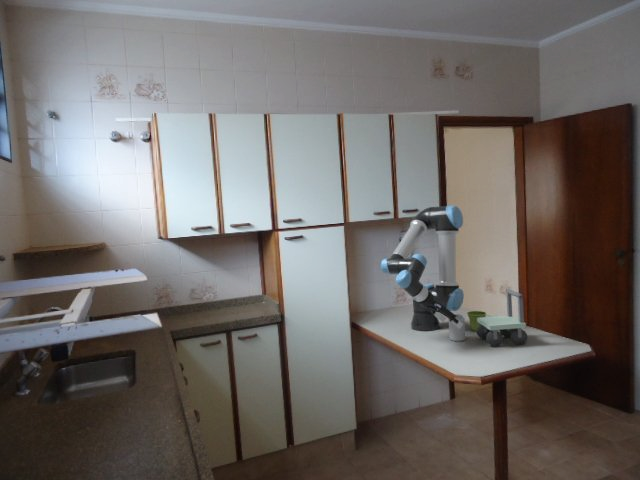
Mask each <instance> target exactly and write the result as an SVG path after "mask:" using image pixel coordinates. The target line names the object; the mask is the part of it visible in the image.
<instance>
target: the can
mask: <svg viewBox="0 0 640 480" xmlns="http://www.w3.org/2000/svg"><path fill="white" fill-rule="evenodd" d="M455 315H456V318H457V319H458V320H459V321H460V322H461V323H462V324H463V325H462V327H461V328H460V329H459V328H458V327H457V326H456V325H454V324H453V323H452V322H450V319H449V318H447V319H448V332H449V333H448V334H449V335H448V336H449V339H450V340H451V341H452V342H455V341H456V342H457V343H459V342H464V341H465V340H466V339H467V337H466V323H465V317H464V315H463V314H460V313H459V314H458V313H456V314H455Z"/></svg>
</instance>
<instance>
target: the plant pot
mask: <svg viewBox="0 0 640 480" xmlns="http://www.w3.org/2000/svg"><path fill="white" fill-rule="evenodd" d="M466 315H467V316H468V319H469V325H470V330H471V331H475V332H477V328H478V327H479V326H480V325H481V324H480V323H478V322H477V318H481V317H487V316H486V315H487V312H486V311H481V310H471V311H468V312H466Z"/></svg>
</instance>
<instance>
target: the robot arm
mask: <svg viewBox="0 0 640 480" xmlns="http://www.w3.org/2000/svg"><path fill="white" fill-rule="evenodd" d="M409 223H410V224H409V228H408V230H407V231H406V232H405V234H404V236H403V237H402V239H401V241H400V242H399V243H398V245H397V246H396V248H395V249H394V251H393V253H392V254H391V256H390V257H387V258H384V259H382V260H381V264H380V270H381V271H382V273H384V274H387V275H396V278H395V282H396V284H397V285H398V286H399V287H400V288H401V289H402V290H404V292H405V293H407V295H409V296H410V297H411V298H412V307H413V310H412V311H413V314H412V318H411V322H410V328H411V329H413V330H415V331H421V332H422V331H424V332H425V331H427V332H428V331H429V332H430V331H435V330H438V329H440V327H441V325H440V322H441V323H442V324H444V323H445V321H446V320H447V319H450V322H452V323H453V324H454V325H456V326H457V327H458V328H459V329H460V328H461V327H462V325H463V324H462V323H461V322H460V321H459V320H458V319H457V318H456V315H455V314H454V313H453V312H456V311H458V310H460V308H461V307H462V305H463V302H464V295H465V294H464V291H463V289H462V288H460V284H459V283H458V282H457V264H456V263H457V262H456V261H457V260H456V259H457V257H456V255H457V254H456V253H457V250H456V246H457V245H456V243H457V242H456V240H457V239H456V237H457V236H456V235H457V234H458V233H459V229H460V228H462V227H463V224H464V216H463V212H462V211H461V209H460V208H459V207H458V206H456V205H440V206H429V207H426V208H424V209H423V210H421V211H419V213H418V214H416V215H415V216H414V217H413V218H412V220H411V222H409ZM429 230H434V231H435V233H436V234H437V236H438V281H437V282H436V284H435V285H434V284H433V283H426V284H422V283H421V282H420V280H421V277H422V275H423V273H424V271H425V269H426V266H427V264H428V260H427V258H426V257H425V256H424V255H422V254H419V253H415V254H413V255H412V256H411V258H409V257H410V255H411V254H412V253H413V250H414V249H415V247H416V246H417V244H418V242H420V239H421V238H422V236H423V235H425V234H427V232H428V231H429Z"/></svg>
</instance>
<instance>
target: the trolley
mask: <svg viewBox="0 0 640 480" xmlns="http://www.w3.org/2000/svg"><path fill="white" fill-rule="evenodd" d="M505 293H506V308H507V315H498V316H497V315H496V316H495V315H493V316H485V317H481V318H477V322H478V323H480V324H481V325H480V326H479V327H478V328H477V331H476V335H477V336H478V337H479V338H480V339H482V340H486V342H487V343H486V344H488V345H489V346H491V347H493V348H498V347H499V346H501V345H502V344H503V341H504V338H506V339H507V338H508V339H510V341H511V342H512V344H513V343H514V344H515V345H517V346H522V345H524V344H525V343H526V342H527V341H528V333H527V331H526V330H523V329H524V328H525V329H526V325H527V323H526V322H525V318H524V316H525V314H524V298H523V297H524V295H523V294H522V293H520V292H518V291H515V290H513V289H509V288H507V289H506V290H505ZM512 296H514V297H516V298H517V310H518V315H517V316H518V318H517V317H515V316H513V301H512ZM498 330H499V331H498Z"/></svg>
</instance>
